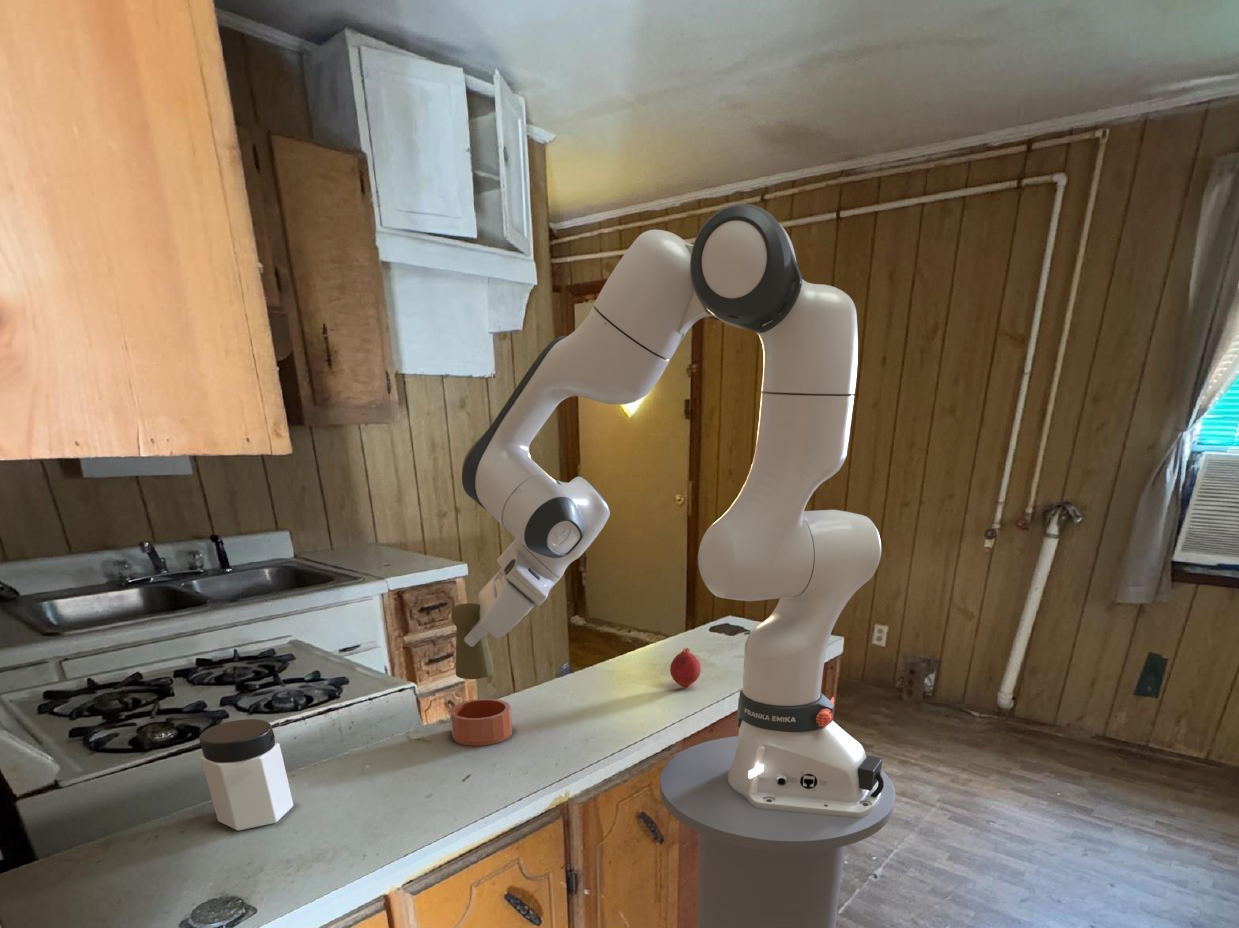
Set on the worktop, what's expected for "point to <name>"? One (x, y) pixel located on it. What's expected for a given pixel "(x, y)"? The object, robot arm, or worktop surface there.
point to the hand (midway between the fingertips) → (467, 638)
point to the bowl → (481, 722)
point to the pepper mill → (468, 658)
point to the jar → (245, 773)
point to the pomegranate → (685, 668)
